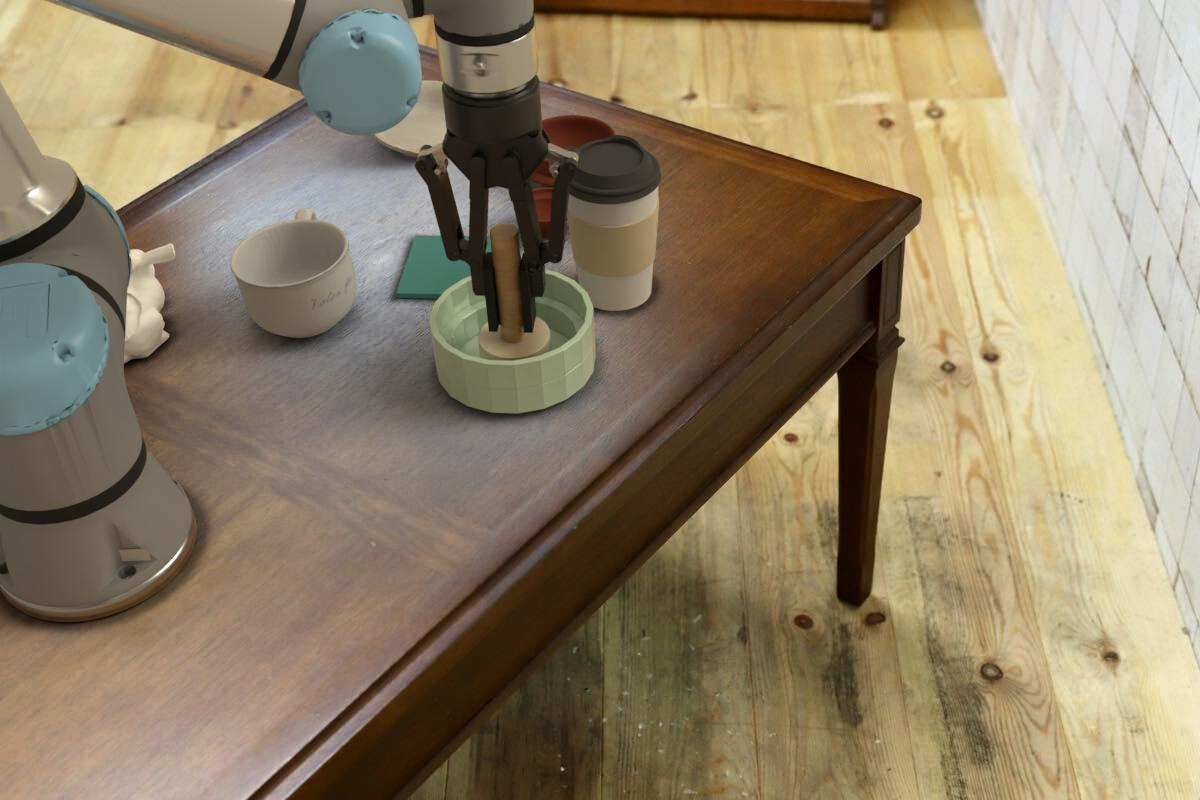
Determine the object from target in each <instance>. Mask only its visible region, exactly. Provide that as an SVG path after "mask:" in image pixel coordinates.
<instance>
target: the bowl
mask: <svg viewBox="0 0 1200 800" xmlns="http://www.w3.org/2000/svg"><path fill="white" fill-rule="evenodd" d="M545 276H546V285H545V290H544V294H543V296H542V297H535V302H536V317H538V318H540V319H542V320H543V321H544V322H545V323H546V324H547V325H548V327H549V329H550V333H551V346H552V351H550V352H547V353H545V354H542V355H540V356H537V357H531V358H525V359H519V360H514V361H509V360H487V359H483V358H480V350H479V342H478V335H479V332H480V330H481V328H482V327H483V326H484V325H485V324H486V323H487V322H488V318H487V309H486V300H485V296H476V295H475V294H474V292H473V288H472V280H471V276H469V277H466V278H464V279H462V280H460V281H459V282H457V283H456V284H454V285H453V286H451V287H450V288H448V289H446V290H445V291H444V293H443V294H442V295H441V296H440V297H439V298H438V299H436V301H435V302H434V303H433V305H432V308H431V312H430V315H429V319H428V323H429V330H430V331H429V332H430V336H431V344H432V349H433V357H434V365H435V370H436V374H437V379H438V382H439V384H440V385H441V387H442V388H443V389H444V390H445V391H446V393H448V395H449V396H450V397H451V398H452V399H455V400H456V401H457V402H459V403H461V404H463V405H465V406H466V407H469V408H473V409H476V410H480V411H484V412H489V413H492V414H522V413H524V414H525V413H528V412H533V411H539V410H544V409H547V408H549V407H552V406H554V405H556V404H559V403H561V402H564V401H567V400H568V399H569V398H571V397H572V396H573V395H575V394H576V393H578V391H580V390H581V389H582V388H584V387H585V385H586V383H587V382H588V380H589V379H590V378H591V376H592V375H593V373H594V371H595V365H596V358H597V351H596V333H595V332H596V330H595V329H596V328H595V309H594V308H595V307H593V305H592V303H591V300H590V297H589V295H588V293H587V292H586V291H585V290H584V289H583V288H582V287H581V286H580V285H579V282H578V281H576V280H574V279H572V278H571V277H569V276H566V275H565V274H562V273H560V272H558V271H555V270H551V269H546V268H545Z"/></svg>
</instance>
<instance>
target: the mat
mask: <svg viewBox="0 0 1200 800" xmlns="http://www.w3.org/2000/svg"><path fill="white" fill-rule="evenodd" d="M464 237H465V239H466V240H469V235H464ZM487 242H488V244H487V248H486V254H487V252H492V250H491V240H490V236H487ZM469 276H471V271H470V266H469V265H468V264H467V263H466V262H464V261H462V260H458V261H450V260H449V259H448V258H447V256H446V253H445V249H444V245H443V242H442V238H441V235H418V234H417V235H414V238H413V241H412V244H411V247H410V250H409V253H408V256H407V259H406V261H405V265H404V268H403V271H402V274H401V276H400V280H399V283H398V286H397V289H396V292H395V296H396V298H397V299H430V300H431V299H433V300H438V298H439V297H440V296H441V295H442V294H443V293H444V291H445V290H446V289H448V288H450V287H451V286H453V285H454V284H456V283H457V282H459V281H460V280H462V279H464V278H466V277H469Z"/></svg>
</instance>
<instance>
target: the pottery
mask: <svg viewBox="0 0 1200 800" xmlns="http://www.w3.org/2000/svg"><path fill="white" fill-rule="evenodd" d="M542 125H543V128H544V130H545V131H546V133H547V134H548V136H549V139H550V143H551V144H554V145H556V146H558V147H560V148H563V149H565V150H566V149H567V148H569V147H576V148H577V149H578V148H579V147H581V146H582V145H584V144H586V143H589V142H592V141H595V140H601V139H606V138H608V137H610V136H613V135H617V134H616V132H615V130H614V129H613V127H612V126H611V125H610V124H608V123H607V122H605V121H603V120H600V119H599V118H596V117H591V116H588V115H579V114H567V115H566V114H565V115H558V116H553V117H548V118H545V119H542ZM554 180H555V177H553V176H552V175H551V173H550V172H549V162H548V161H547V160H546V159H544V160H543V161H542V162H541V164H540V165H539V166H538V168H537V169H536V170H535V172H534V173H533V174H532V175H531V182H534V183H535V184H539V185H541V186H546V187H538V188H534V189H533V188H532V192H533V197H534V202H535V206H536V211H537V216H538V220H539V225H540V230H541V234H542V239H544V238H545V239H549V230H550V216H551V203H552V190H553V184H554ZM513 208H514V206H513ZM513 211H514V212H515V210H514V209H513ZM567 221H568V219H567Z"/></svg>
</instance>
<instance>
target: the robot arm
mask: <svg viewBox="0 0 1200 800" xmlns="http://www.w3.org/2000/svg"><path fill="white" fill-rule="evenodd" d="M43 1H44V2H47V3H50V4H53V5H55V6H59V7H62V8H65V9H67V10H70V11H72V12H75V13H79V14H82V15H84V16H86V17H90V18H93V19H96V20H98V21H101V22H104V23H106V24H110V25H112V26H115V27H118V28H121V29H123V30H126V31H130V32H132V33H135V34H137V35H141V36H143V37H147V38H149V39H152V40H155V41H158V42H161V43H164V44H165V45H169V46H171V47H175V48H178V49H180V50H182V51H183V50H184V51H186V52H189V53H191V54H195V55H197V56H199V57H203V58H206V59H209V60H211V61H214V62H217V63H220V64H223V65H226V66H229V67H231V68H234V69H237V70H240V71H242V72H245V73H248V74H251V75H254V76H257V77H259V78H262V79H265V80H268V81H271V82H273V83H275V84H278V85H280V86H283V87H285V88H289V89H291V90H293V91H297V92H300V93H301V95H302V96H303V98H304V100H305V102H306V104H307V105H308V107H309V109H310V110H311V111H312V113H313V114H314V115H315V116H316V118H318V119H319V120H320V121H321V122H323V123H324V124H325V125H326V126H327V127H329V128H331V129H332V130H335V131H336V132H339V133H342V134H345V135H351V136H372V134H376V133H380V132H384V131H386V130H388V129H390V128H392V127H394V126H395V125H397V124H398V123H400V122H401V121H402V120H403V119H404V118H405V117H406V116H407V115H408V114H409V113H410V111H411V110H412V109H413V107H414V105H415V104H416V103H417V102H418V97H419V94H420V90H421V86H422V80H423V72H422V71H423V70H422V63H421V54H420V53H421V52H420V50H421V45H420V43H419V40H418V37H417V35H416V33H415V31H414V29H413V28H412V25H411V22H410V19H415V18H423V17H424V16H432V15H433V25H434V35H435V44H436V52H437V59H438V69H439V75H440V78H441V80H442V82H443V84H442V95H443V104H444V112H445V121H446V129H447V131H446V134H445V137H444V140H443V142H442V143H440V144H438V145H436V146H434V147H432V146H430V145H423V146H422V147H421V149H420V152H419V154H418V157H416V160H415V163H414V168H415V170H416V172H417V174H419V176H420V177H421V179H422V180H423V182H424V183H425V185H426V186H427V189H428V193H429V196H430V200H431V204H432V208H433V212H434V215H435V219H436V223H437V226H438V230H439V234H440V236H441V238H442V242H443V245H444V249H445V253H446V256H447V258H448V259H449V260H450V261H458V260H462V261H464V262H466V263H467V264H468V265H469V266H470V271H471V280H472V288H473V292H474V294H475V295H476V296H485V300H486V309H487V318H488V328H489V332H498V328H499V315H498V306H497V297H496V287H495V278H494V268H493V259H492V252H487V254H486V248H487V244H488V242H487V237H488V226H489V225H488V224H489V198H490V189H492V188H493V189H494V188H503V189H506V190H508V194H509V199H510V201H511V202H512V205H513V206H514V207H513V211H514V210H515V211H514V214H515V218H516V223H517V228H518V230H519V238H520V240H521V245H522V249H523V252H522V254H521V264H520V267H519V281H520V292H521V303H522V315H523V326H524V333H533V329H534V324H535V319H536V302H535V297H542V296H543V294H544V290H545V285H546V276H545V269H546V264H549V263H552V264H559V263H560V262H561V261H562V260H563V255H564V250H565V244H566V235H567V225H568V220H567V212H568V200H569V188H570V183H571V181H572V179H573V177H574V175H575V173H576V171H577V166H578V161H579V156H580V152H579V150H578V149H577V148H576V147H569V148H567V149H566V150H565V149H563V148H560V147H558V146H556V145H554V144H551V143H550V139H549V136H548V134H547V133H546V131H545V130H544V128H543V125H542V120H543V117H542V116H543V115H542V100H541V85H540V84H541V83H540V79H539V76H538V75H537V74H538V71H539V55H538V39H537V26H536V21H535V8H534V0H43ZM448 159H449V160H448ZM544 159H546V160H547V161H548V162H549V172H550V173H551V175H552V176H553V177H555V180H554V184H553V187H552V188H553V190H552V203H551V216H550V230H549V238H548V240H547V241H544V240H543V239H544V238H542V234H541V230H540V225H539V220H538V216H537V211H536V206H535V202H534V197H533V192H532V190H533V188H532V181H531V175H532V174H533V173H534V172H535V170H536V169H537V168H538V166H539V165H540V164H541V162H542V161H543V160H544ZM449 161H451V163H452V164H453V165H454V166H455V167H456V168H457V169H458V170H459V171H460V172H461V174H462V175H463V176H464V178H466V179H467V180H468V181H469V183H468V185H469V187H468V190H469V191H468V200H469V216H468V217H469V219H468V236H469V240H466V239H465V237H464V236H465V234H464V230H463V226H462V222H461V221H462V220H461V219H460V218H461V217H460V214H459V209H458V207H457V203H456V199H455V198H456V197H455V194H454V190H453V187H452V182H451V179H450V175H449V172H448V166H449ZM130 250H131V248H130V245H129V241H128V238H127V233H126V230H125V227H124V225H123V223H122V220H121V217H119V215H118V213H117V211H116V209H114V207H113V205H111V203H110V202H109V201H108V200H107V199H106V198H104V197H103V196H102V194H100V193H99V192H98V191H97V190H95V189H94V188H93V187H91V186H90V185H88V184H84V185H83V183H82V181H81V179H80V178H79V176H78V174H77V172H76V170H75V169H74V167H73V166H72V165H71V164H70V163H69V162H68V161H65V160H63V159H60V158H57V157H52V156H48V155H45V154H42V152H41V150H40V148H39V147H38V145H37V143H36V141H35V140H34V138H33V136H32V134H31V133H30V131H29V129H28V127H27V126H26V124H25V122H24V120H23V118H22V117H21V114H19V112H18V110H17V108H16V107H15V105H14V103H13V101H12V100H11V97H10V95H9V94H8V92H7V91H6V89H5V87H4V85H3V84H2V82H1V81H0V592H1V593H2V595H3V597H4V598H5V599H6V600H7V602H8V603H9V604H10V605H12V607H14V608H15V609H17V610H18V611H20V612H22V613H24V614H26V615H27V616H30V617H32V618H35V619H39V620H43V621H49V622H58V623H75V622H87V621H92V620H97V619H101V618H105V617H108V616H112V615H115V614H118V613H122V612H123V611H126V610H128V609H131V608H132V607H134V606H137V605H138V604H141V603H142V602H144V601H146V600H148V599H149V598H151V597H152V596H153V595H155V594H156V593H158V592H159V591H161V590H162V589H163V588H165V586H168V584H169V583H170V582H171V581H172V580H174V578H175V577H176V576H177V575H178V574H179V573H180V572H181V570H182V569H183V568H184V567H185V565H186V563H187V562H188V560H189V558H190V557H191V555H192V552H193V550H194V547H195V545H196V540H197V535H198V534H197V533H198V524H197V523H198V522H197V520H196V514H195V512H194V509H193V506H192V502H191V500H190V498H189V496H188V494H187V492H186V491H185V489H184V488H183V487H182V486H181V484H180V483H179V482H178V481H177V480H176V479H175V478H174V477H173V476H172V475H171V474H169V473H168V472H167V470H166V469H165V468H164V467H163V465H162V464H161V463H160V462H159V461H158V460H157V459H156V457H155V456H154V455H153V454H152V453H151V452H150V450H149V449H148V448H147V446H146V442H145V439H144V437H143V433H142V431H141V428H140V427H141V426H140V424H139V422H138V418H137V416H136V412H135V409H134V407H133V404H132V401H131V398H130V395H129V392H128V388H127V384H126V379H125V378H126V377H125V369H124V368H125V363H124V347H125V328H126V307H127V288H128V286H129V281H130V274H131V258H130V256H129V254H130Z"/></svg>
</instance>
